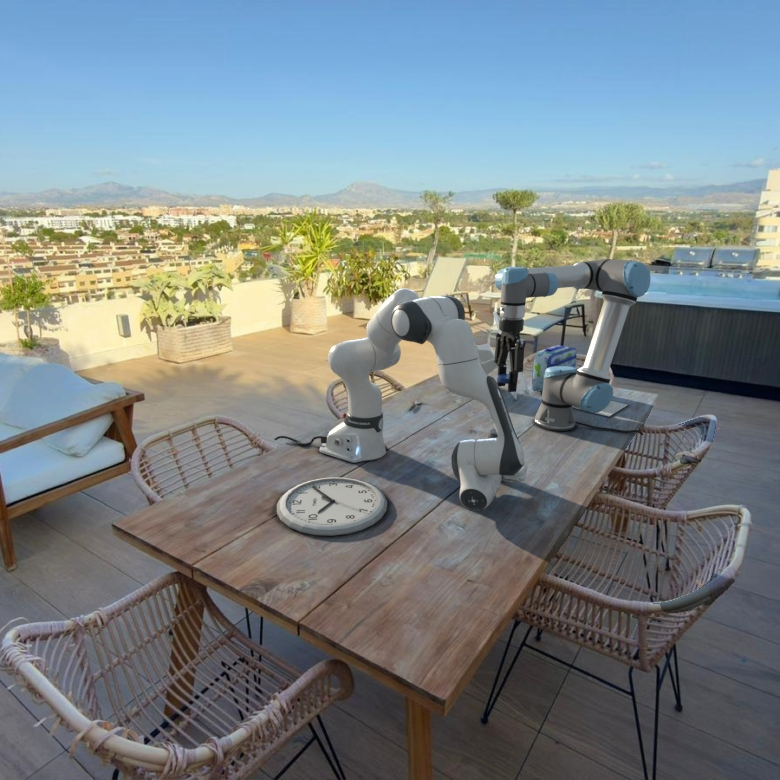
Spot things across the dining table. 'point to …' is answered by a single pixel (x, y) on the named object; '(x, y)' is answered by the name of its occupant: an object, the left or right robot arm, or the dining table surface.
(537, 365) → the lunch box
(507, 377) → the lid
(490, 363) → the white plastic object
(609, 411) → the invitation card
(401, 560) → the dining table surface
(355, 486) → the wall clock
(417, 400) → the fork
